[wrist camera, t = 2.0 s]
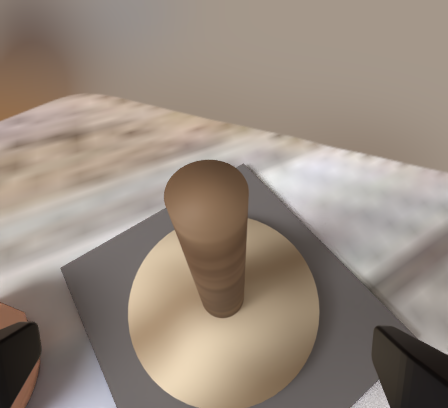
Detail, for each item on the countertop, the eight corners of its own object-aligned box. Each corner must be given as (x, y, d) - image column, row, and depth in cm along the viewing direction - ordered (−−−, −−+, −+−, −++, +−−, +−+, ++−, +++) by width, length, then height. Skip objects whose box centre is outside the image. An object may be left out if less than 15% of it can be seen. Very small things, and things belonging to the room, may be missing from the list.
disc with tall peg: (356, 322, 18) (501, 227, 8) (194, 466, 15) (101, 605, 5) (241, 196, 24) (243, 46, 14) (104, 280, 20) (-28, 163, 10)
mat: (415, 341, 18) (418, 339, 17) (184, 568, 13) (183, 572, 13) (243, 166, 26) (243, 163, 26) (63, 270, 21) (60, 268, 21)
